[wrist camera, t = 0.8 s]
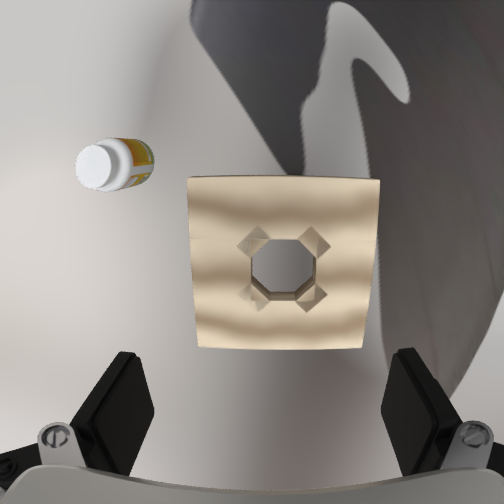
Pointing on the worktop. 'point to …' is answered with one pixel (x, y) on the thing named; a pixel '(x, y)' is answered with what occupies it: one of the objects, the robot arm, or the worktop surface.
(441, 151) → the worktop surface
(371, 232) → the plate
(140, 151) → the supplement bottle
